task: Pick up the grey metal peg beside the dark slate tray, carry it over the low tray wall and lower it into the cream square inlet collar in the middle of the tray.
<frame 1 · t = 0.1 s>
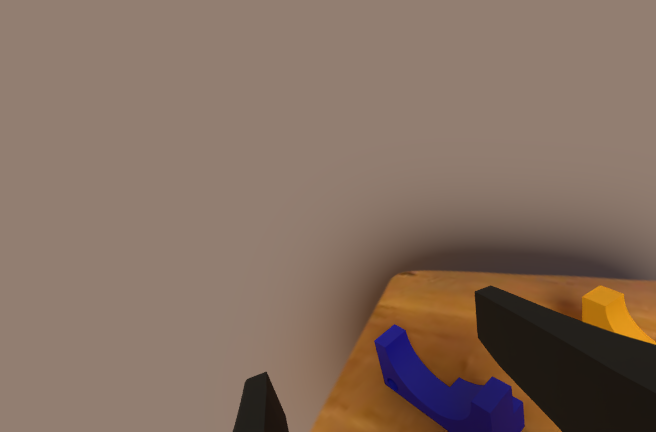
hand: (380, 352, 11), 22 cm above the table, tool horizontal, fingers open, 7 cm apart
blue cradle block: (447, 405, 32), on the table
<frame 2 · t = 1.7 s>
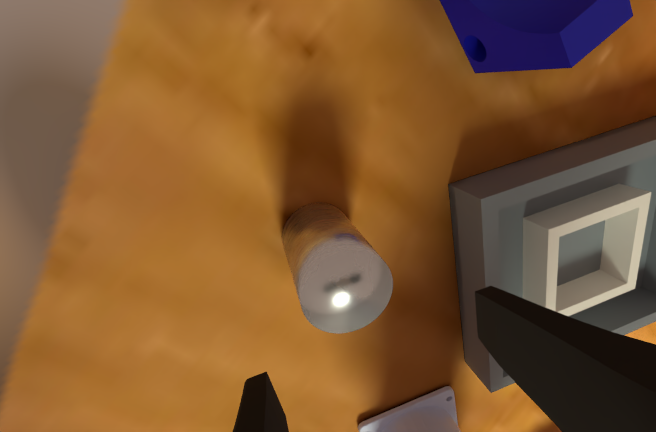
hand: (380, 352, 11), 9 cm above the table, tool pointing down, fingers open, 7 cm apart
walled tray: (561, 245, 25), on the table
metal peg: (316, 235, 19), on the table
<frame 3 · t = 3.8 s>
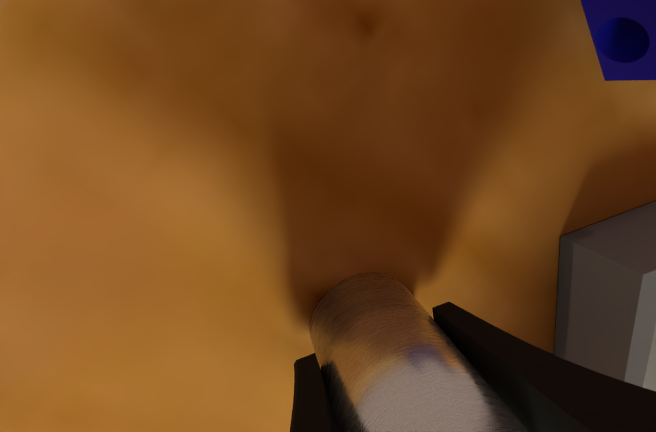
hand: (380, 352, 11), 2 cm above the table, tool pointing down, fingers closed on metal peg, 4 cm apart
metal peg: (363, 320, 12), on the table, touching gripper
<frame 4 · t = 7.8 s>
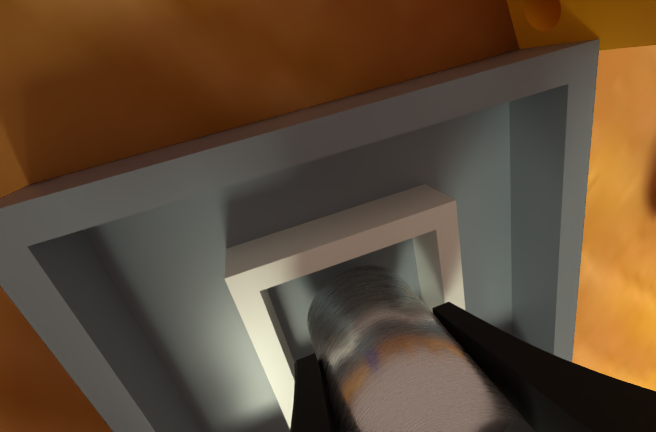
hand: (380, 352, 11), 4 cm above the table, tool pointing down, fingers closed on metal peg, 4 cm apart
walled tray: (346, 289, 14), on the table
metal peg: (360, 313, 12), point 2 cm above the table, touching gripper
when the fingers open (4 cm above the table, at t = 7.8 s): metal peg drops 1 cm, resting on walled tray.
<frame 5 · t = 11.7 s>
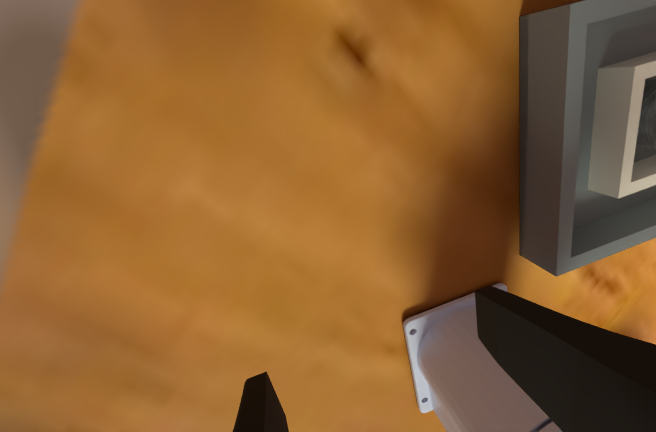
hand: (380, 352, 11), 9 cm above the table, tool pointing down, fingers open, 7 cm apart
walled tray: (632, 116, 22), on the table
metal peg: (643, 112, 21), point 1 cm above the table, touching walled tray
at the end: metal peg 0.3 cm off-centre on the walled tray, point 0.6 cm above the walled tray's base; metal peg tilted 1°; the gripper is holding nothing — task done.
